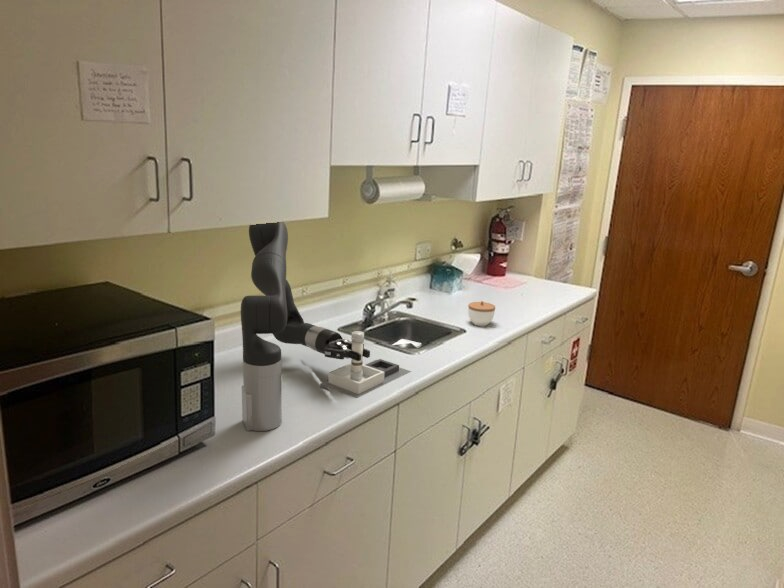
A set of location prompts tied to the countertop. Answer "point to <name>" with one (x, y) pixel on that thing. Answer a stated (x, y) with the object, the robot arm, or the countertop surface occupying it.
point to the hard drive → (408, 342)
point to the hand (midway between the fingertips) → (364, 355)
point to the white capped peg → (357, 346)
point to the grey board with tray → (372, 378)
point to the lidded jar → (481, 313)
